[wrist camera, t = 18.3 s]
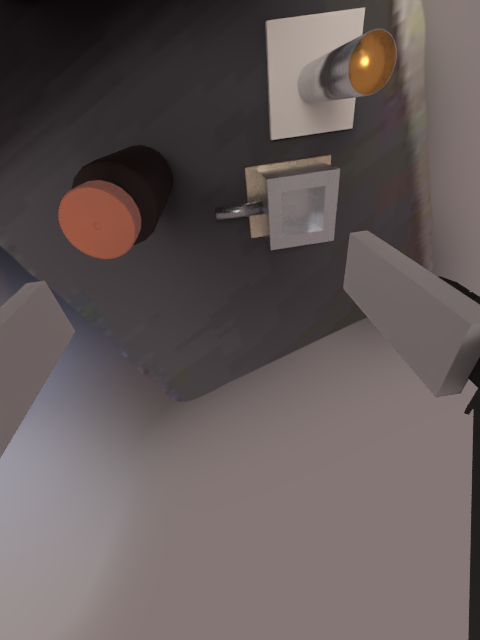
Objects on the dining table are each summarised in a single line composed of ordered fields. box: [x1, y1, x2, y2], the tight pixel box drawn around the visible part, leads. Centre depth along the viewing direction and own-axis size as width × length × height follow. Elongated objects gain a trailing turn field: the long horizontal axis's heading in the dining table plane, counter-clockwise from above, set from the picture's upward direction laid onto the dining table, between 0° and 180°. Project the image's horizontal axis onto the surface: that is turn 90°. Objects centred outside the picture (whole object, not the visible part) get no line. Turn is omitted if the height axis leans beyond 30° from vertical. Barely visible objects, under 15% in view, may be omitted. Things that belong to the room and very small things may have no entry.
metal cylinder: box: [297, 29, 397, 103], centre depth 25 cm, size 4×4×13 cm
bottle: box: [58, 145, 173, 259], centre depth 27 cm, size 7×7×20 cm
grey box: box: [215, 154, 340, 250], centre depth 35 cm, size 9×16×8 cm, turn 97°
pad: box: [265, 8, 365, 140], centre depth 31 cm, size 10×10×1 cm
